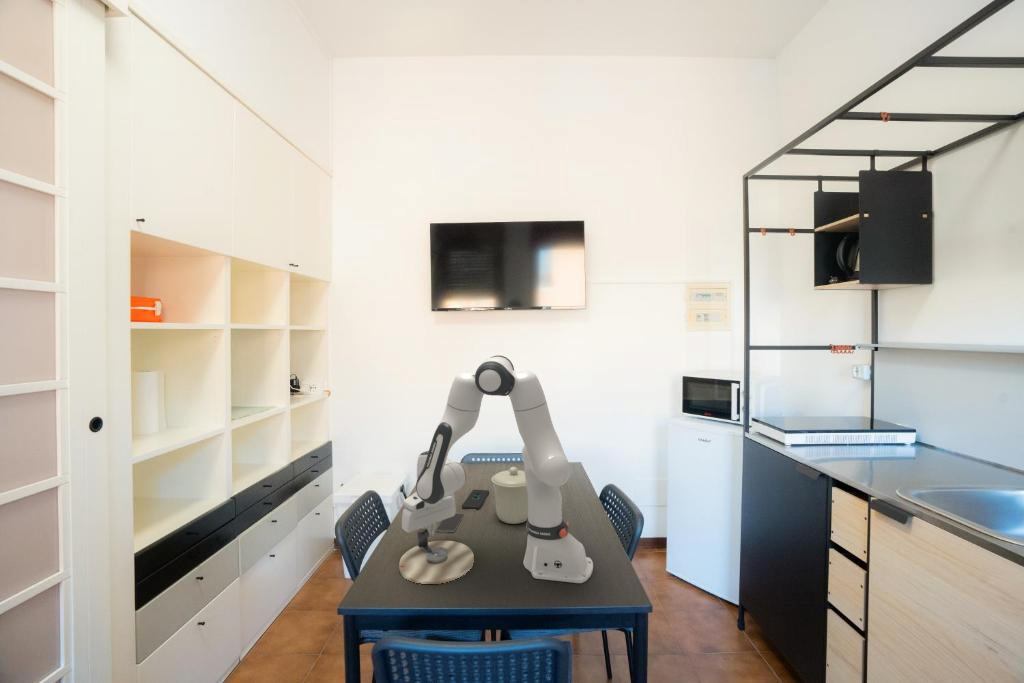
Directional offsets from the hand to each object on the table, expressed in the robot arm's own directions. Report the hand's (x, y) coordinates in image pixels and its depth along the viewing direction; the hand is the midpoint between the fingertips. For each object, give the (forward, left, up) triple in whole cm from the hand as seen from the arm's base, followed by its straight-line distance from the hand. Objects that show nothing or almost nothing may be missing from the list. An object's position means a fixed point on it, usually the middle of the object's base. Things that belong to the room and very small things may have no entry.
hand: (430, 535), depth 145 cm
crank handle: (-4, +5, -3) cm, 7 cm away
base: (-7, +7, -5) cm, 11 cm away
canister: (-18, -33, -5) cm, 38 cm away
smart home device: (+5, -44, -5) cm, 45 cm away
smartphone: (+4, -20, -5) cm, 21 cm away
